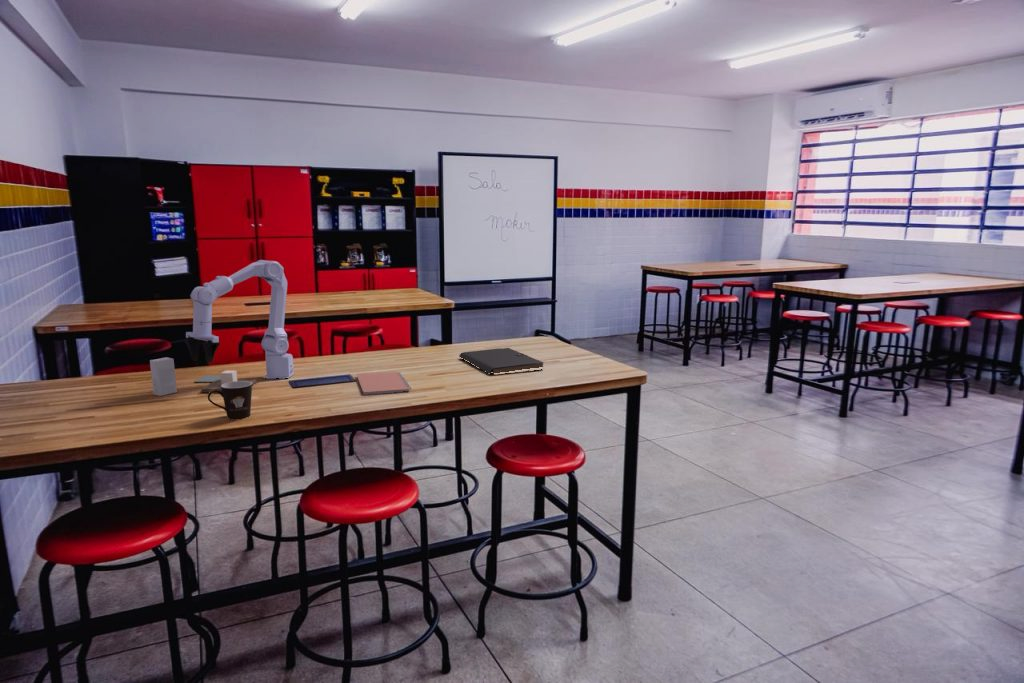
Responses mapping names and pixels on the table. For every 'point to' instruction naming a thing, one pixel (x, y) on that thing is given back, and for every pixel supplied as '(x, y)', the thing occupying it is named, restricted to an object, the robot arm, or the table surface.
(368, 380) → the notebook
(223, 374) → the cream block
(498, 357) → the dark hardcover book
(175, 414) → the table surface
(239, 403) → the coffee mug
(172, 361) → the skincare box
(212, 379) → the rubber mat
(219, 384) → the puzzle board
